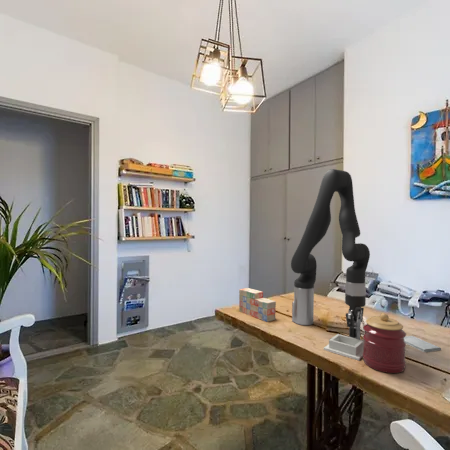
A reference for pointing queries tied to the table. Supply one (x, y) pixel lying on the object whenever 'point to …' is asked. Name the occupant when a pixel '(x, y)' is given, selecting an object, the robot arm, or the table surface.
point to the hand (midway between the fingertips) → (354, 335)
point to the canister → (384, 344)
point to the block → (357, 329)
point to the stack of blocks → (256, 304)
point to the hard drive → (420, 344)
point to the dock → (346, 346)
